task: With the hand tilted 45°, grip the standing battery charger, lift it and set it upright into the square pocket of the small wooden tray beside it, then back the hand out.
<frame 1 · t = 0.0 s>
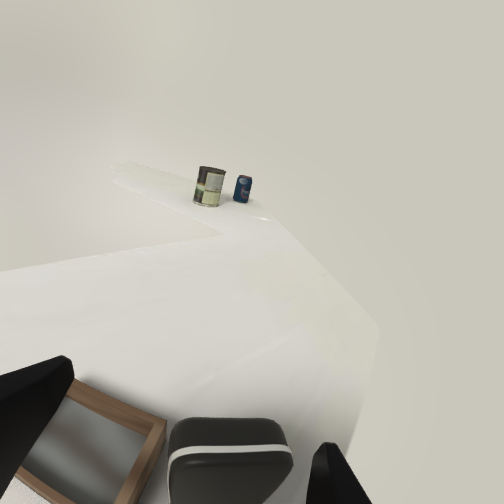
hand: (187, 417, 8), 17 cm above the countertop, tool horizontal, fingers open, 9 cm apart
battery charger: (208, 500, 17), on the countertop
wooden tray: (82, 458, 17), on the countertop
coffee can: (205, 204, 115), on the countertop
soda can: (239, 202, 135), on the countertop
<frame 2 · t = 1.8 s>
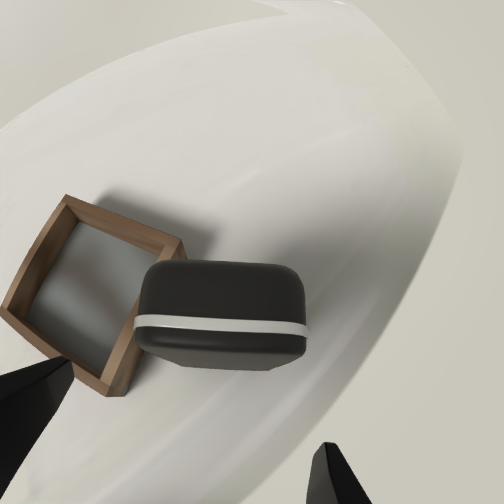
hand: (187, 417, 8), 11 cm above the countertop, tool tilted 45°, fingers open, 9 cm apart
battery charger: (225, 343, 20), on the countertop
wooden tray: (94, 296, 21), on the countertop
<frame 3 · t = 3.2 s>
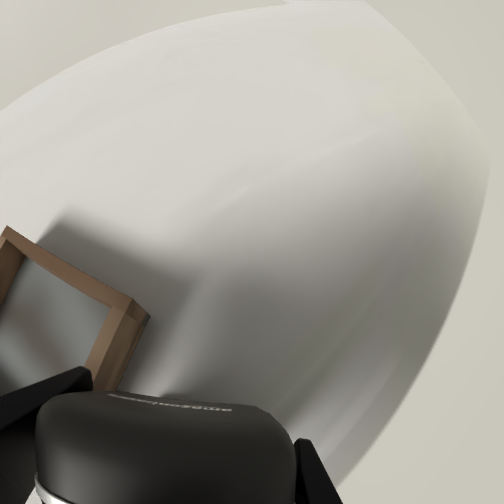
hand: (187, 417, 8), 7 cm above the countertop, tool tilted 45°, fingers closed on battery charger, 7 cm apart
battery charger: (199, 425, 14), on the countertop, touching gripper
wooden tray: (43, 353, 15), on the countertop
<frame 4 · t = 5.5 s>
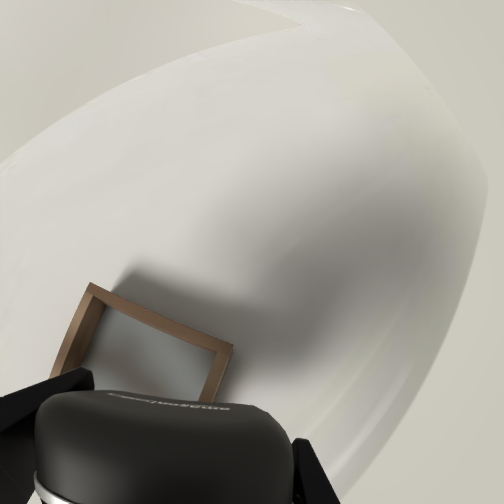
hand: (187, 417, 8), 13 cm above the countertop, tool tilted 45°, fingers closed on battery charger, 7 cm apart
battery charger: (199, 425, 14), point 6 cm above the countertop, touching gripper
wooden tray: (138, 387, 20), on the countertop
when the fingers open (9 cm above the countertop, at t = 7.6 s): battery charger stays where it is, resting on wooden tray.
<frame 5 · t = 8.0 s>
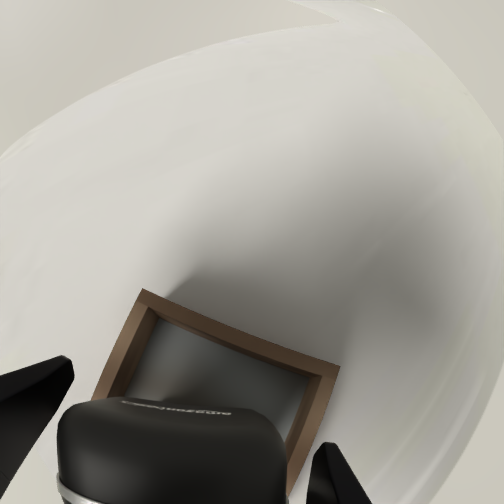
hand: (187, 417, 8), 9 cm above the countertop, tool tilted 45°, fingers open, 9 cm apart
battery charger: (201, 426, 15), point 1 cm above the countertop, touching wooden tray
wooden tray: (202, 421, 16), on the countertop
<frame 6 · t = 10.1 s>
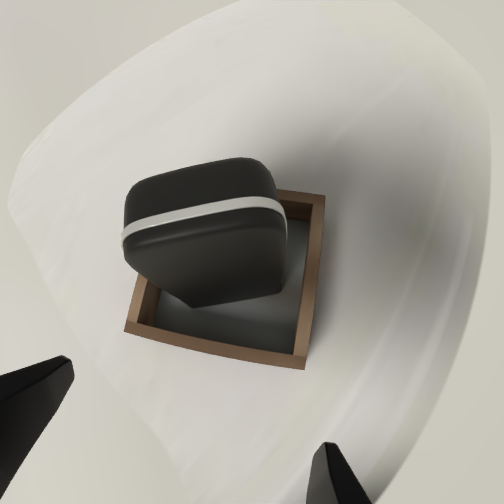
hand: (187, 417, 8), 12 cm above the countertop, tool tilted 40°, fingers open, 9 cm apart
battery charger: (232, 278, 21), point 1 cm above the countertop, touching wooden tray
wooden tray: (233, 277, 22), on the countertop
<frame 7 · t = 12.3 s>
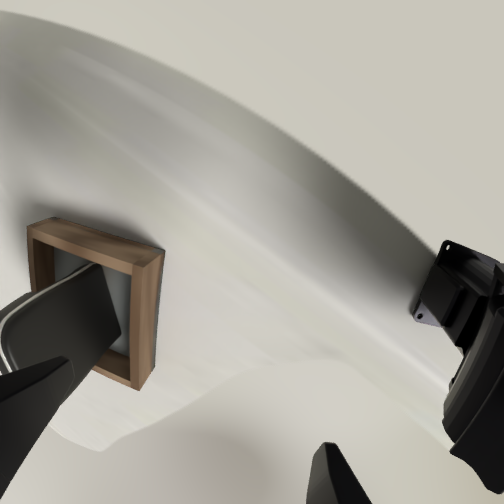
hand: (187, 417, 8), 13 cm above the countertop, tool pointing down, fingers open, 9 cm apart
battery charger: (98, 298, 22), point 1 cm above the countertop, touching wooden tray
wooden tray: (100, 294, 23), on the countertop
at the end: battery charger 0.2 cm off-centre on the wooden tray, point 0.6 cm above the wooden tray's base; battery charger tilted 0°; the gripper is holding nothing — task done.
